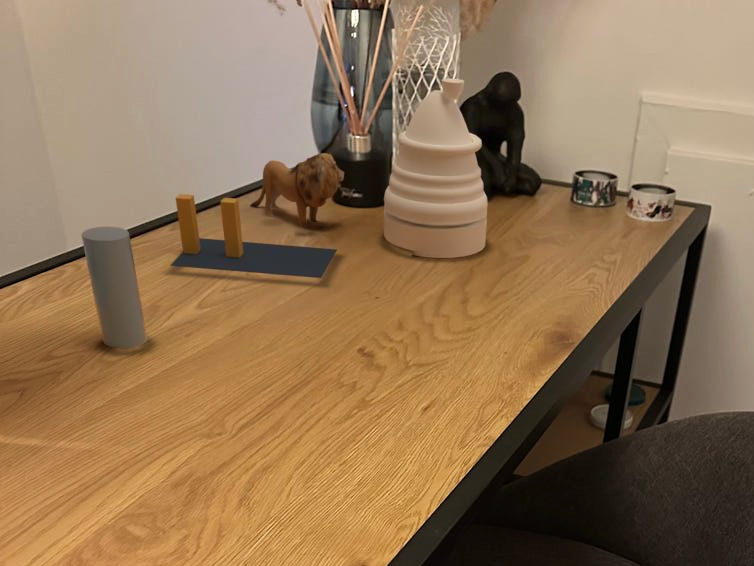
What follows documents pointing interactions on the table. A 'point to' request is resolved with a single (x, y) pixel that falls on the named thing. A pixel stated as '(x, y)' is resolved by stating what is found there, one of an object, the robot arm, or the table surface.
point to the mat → (260, 259)
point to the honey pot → (437, 182)
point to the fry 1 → (188, 223)
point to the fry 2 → (231, 227)
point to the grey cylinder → (115, 286)
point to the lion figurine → (301, 185)
